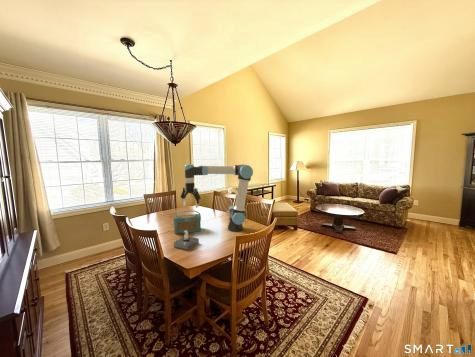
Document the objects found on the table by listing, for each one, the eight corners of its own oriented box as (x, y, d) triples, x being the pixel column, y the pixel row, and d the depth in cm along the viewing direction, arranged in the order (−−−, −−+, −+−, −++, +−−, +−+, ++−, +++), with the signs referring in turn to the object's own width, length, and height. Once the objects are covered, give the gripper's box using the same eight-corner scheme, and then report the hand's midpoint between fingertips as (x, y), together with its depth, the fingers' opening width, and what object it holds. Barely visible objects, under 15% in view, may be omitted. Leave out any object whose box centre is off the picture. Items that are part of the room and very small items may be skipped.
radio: (173, 234, 187) (172, 213, 184) (174, 230, 197) (173, 210, 195) (201, 231, 192) (200, 211, 190) (201, 227, 203) (200, 208, 200)
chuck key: (190, 243, 165) (189, 230, 164) (185, 246, 160) (185, 232, 159) (187, 243, 167) (187, 229, 165) (182, 246, 161) (182, 231, 160)
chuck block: (198, 243, 166) (198, 238, 166) (187, 250, 154) (187, 245, 153) (185, 240, 173) (185, 235, 172) (174, 246, 160) (173, 242, 160)
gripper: (204, 182, 169) (205, 206, 172) (181, 181, 180) (182, 204, 183) (198, 183, 162) (199, 209, 165) (175, 182, 174) (176, 206, 176)
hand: (190, 206), depth 174 cm, fingers open, 13 cm apart
